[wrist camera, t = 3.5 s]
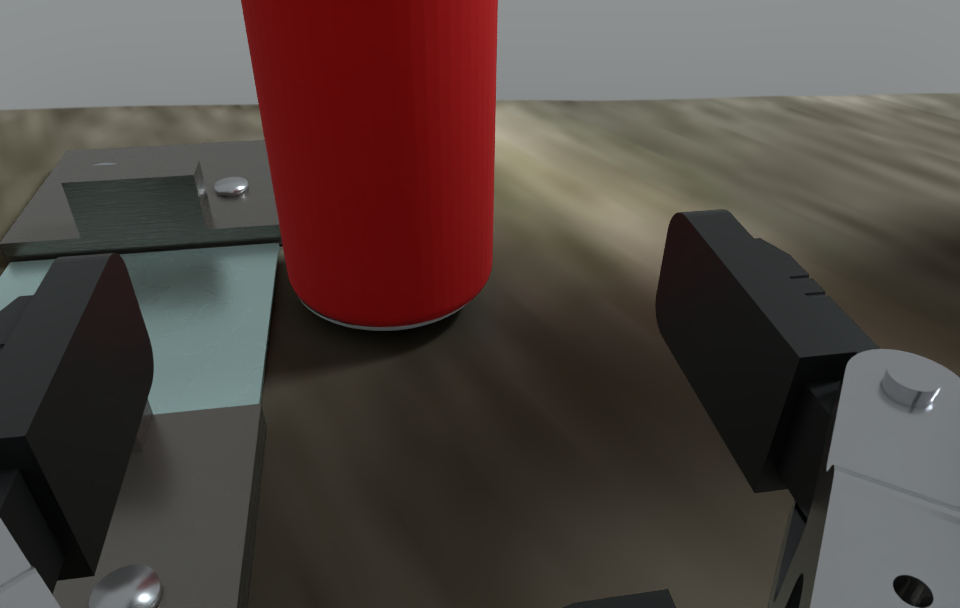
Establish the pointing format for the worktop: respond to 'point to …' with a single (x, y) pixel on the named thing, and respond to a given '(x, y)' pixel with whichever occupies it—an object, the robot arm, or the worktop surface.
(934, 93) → the worktop surface
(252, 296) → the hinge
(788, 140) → the worktop surface
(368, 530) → the worktop surface
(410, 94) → the beverage can
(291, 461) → the worktop surface
